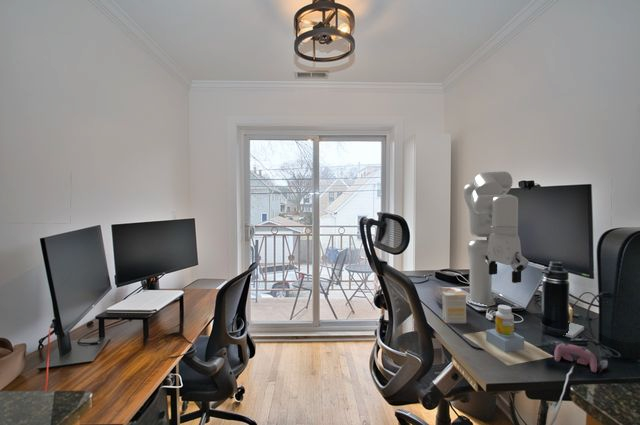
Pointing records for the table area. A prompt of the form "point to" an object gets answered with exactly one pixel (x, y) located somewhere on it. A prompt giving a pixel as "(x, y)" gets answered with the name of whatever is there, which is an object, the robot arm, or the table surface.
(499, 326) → the supplement bottle
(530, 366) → the table surface
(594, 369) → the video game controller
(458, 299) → the supplement box
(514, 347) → the slate block
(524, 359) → the base board
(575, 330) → the hard drive
